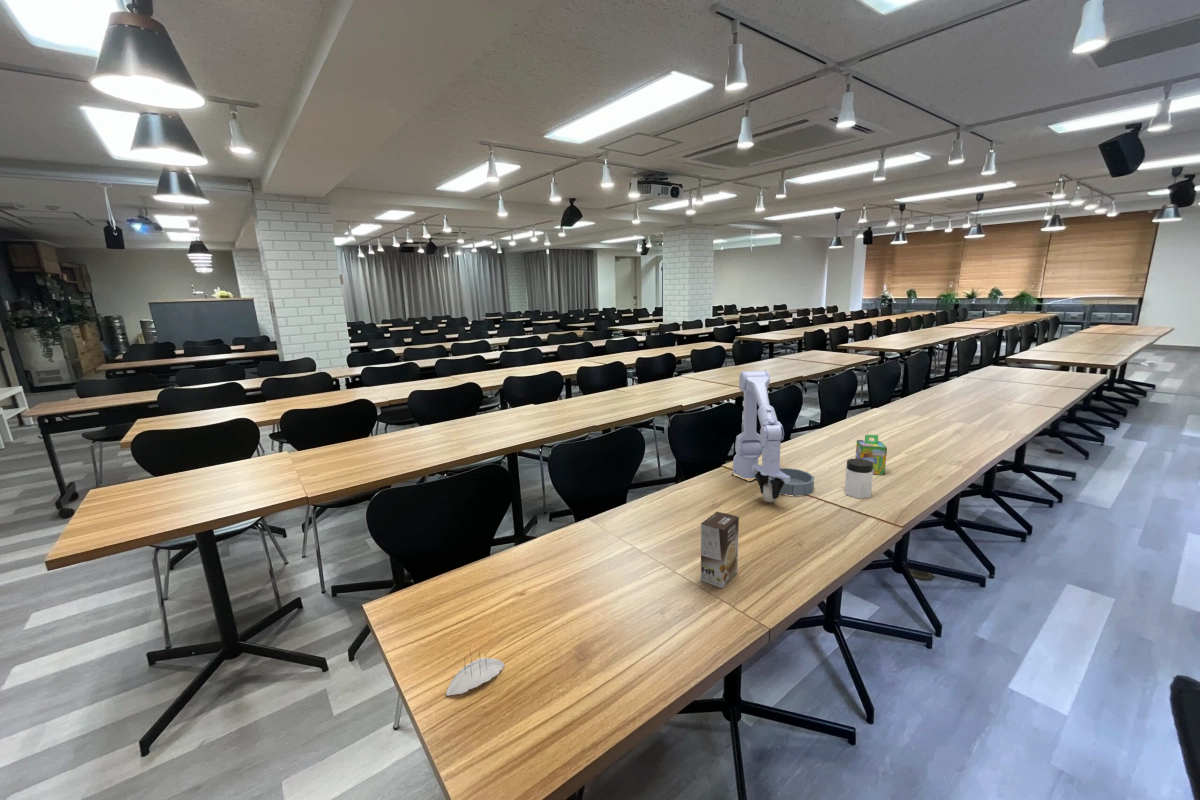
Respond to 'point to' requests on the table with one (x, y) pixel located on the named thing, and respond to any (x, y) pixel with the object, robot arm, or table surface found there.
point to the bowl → (796, 482)
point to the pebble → (768, 493)
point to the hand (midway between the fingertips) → (769, 495)
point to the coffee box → (719, 549)
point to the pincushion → (474, 675)
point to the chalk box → (872, 453)
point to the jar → (858, 478)
